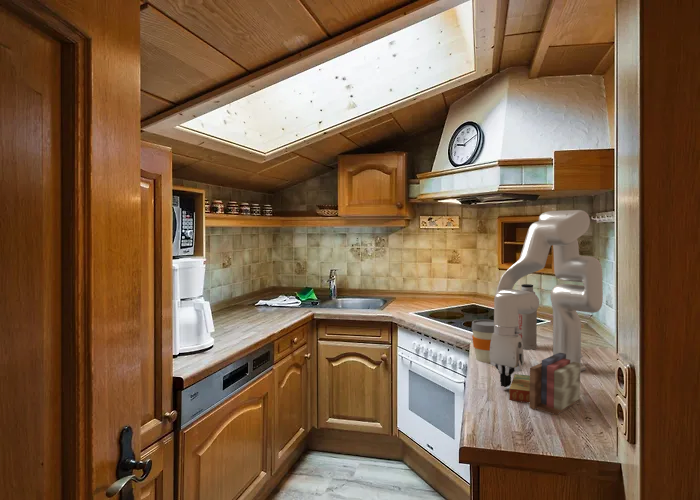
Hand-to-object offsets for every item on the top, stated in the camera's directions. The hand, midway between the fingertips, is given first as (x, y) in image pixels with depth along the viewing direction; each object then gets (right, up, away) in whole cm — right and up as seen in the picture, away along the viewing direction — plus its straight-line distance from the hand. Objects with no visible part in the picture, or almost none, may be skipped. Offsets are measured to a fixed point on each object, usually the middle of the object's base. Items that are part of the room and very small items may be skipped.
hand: (505, 385), depth 146 cm
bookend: (+11, -2, -12) cm, 17 cm away
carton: (+5, -2, -3) cm, 6 cm away
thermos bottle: (+27, +1, +51) cm, 58 cm away
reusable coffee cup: (+4, 0, +34) cm, 34 cm away
